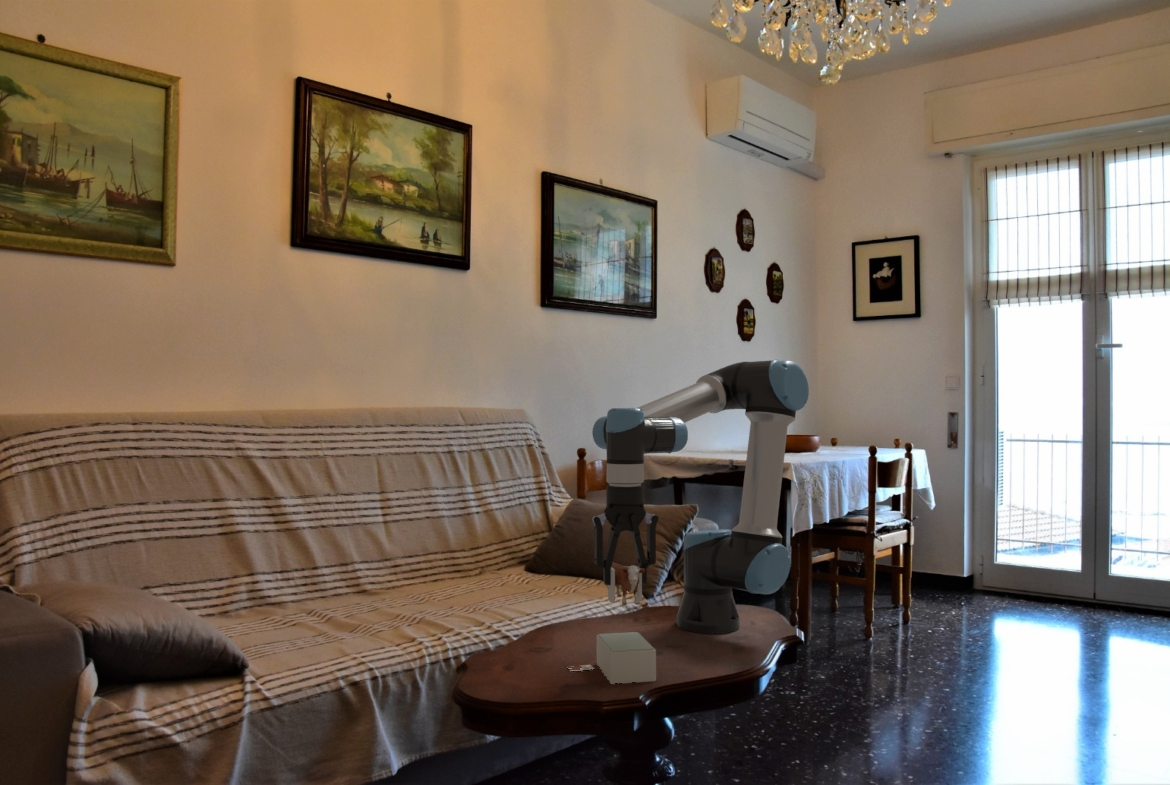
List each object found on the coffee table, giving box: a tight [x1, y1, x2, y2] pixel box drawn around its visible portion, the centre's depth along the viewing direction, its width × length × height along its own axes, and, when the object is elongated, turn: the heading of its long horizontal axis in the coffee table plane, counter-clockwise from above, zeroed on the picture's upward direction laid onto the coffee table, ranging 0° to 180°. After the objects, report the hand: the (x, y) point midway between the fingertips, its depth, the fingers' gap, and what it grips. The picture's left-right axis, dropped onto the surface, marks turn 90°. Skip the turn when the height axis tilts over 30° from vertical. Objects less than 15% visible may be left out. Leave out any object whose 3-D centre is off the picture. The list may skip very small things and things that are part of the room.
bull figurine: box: [606, 561, 645, 605], centre depth 176 cm, size 4×13×8 cm, turn 22°
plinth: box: [596, 631, 657, 685], centre depth 176 cm, size 9×13×6 cm
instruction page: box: [566, 664, 596, 672], centre depth 178 cm, size 5×3×1 cm, turn 110°
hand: (624, 600), depth 176 cm, fingers closed on bull figurine, 5 cm apart
